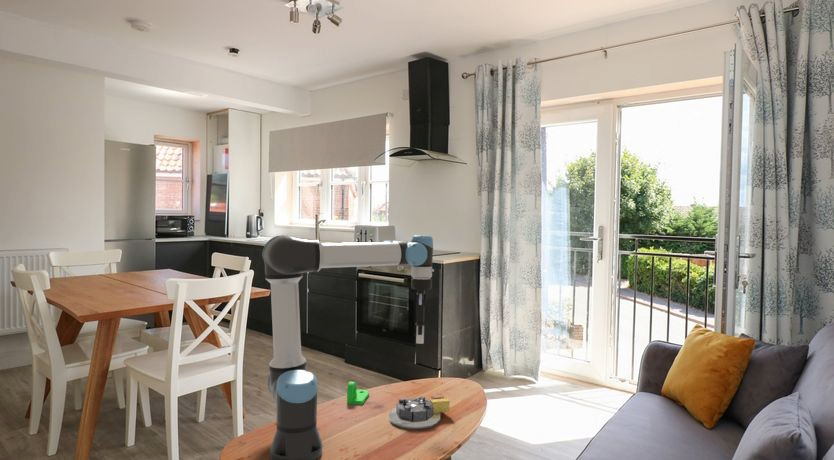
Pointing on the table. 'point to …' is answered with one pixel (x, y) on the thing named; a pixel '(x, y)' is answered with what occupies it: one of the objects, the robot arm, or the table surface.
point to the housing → (416, 424)
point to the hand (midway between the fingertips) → (419, 342)
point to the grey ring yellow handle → (424, 413)
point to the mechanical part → (356, 394)
